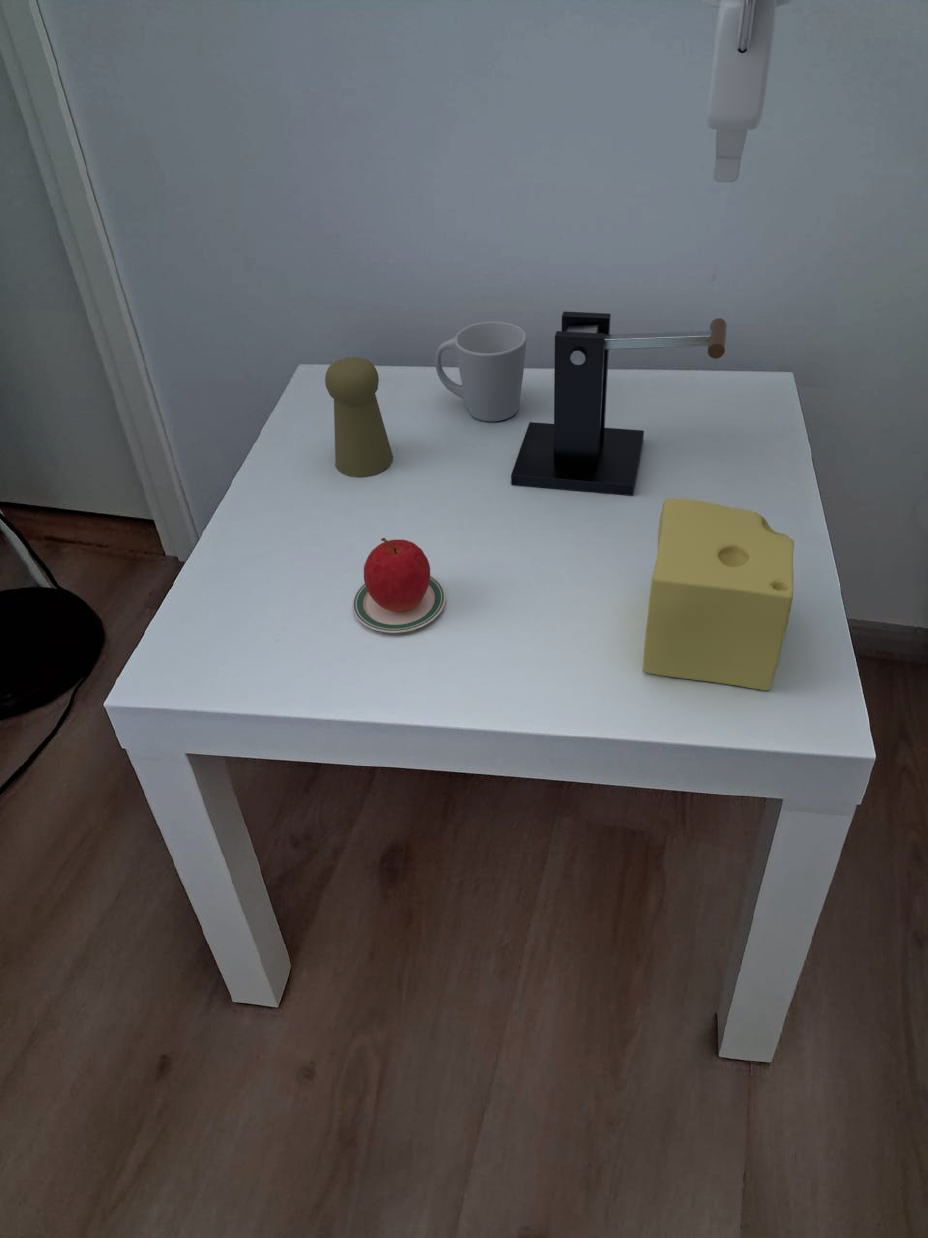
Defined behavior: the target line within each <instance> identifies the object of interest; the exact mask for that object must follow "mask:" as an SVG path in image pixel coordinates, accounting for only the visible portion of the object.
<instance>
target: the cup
mask: <svg viewBox="0 0 928 1238" xmlns="http://www.w3.org/2000/svg"><path fill="white" fill-rule="evenodd" d="M527 337H528V336H527V334H526V332H525V330H523V329H522V327H520V326H519V325H516V324H513V323H509V322H505V321H482V322H477V323H473V324H470V325H468V326H465V327H463V328H462V329H460V330H459V331H458V332H457V333H456V335H455V337H452V338H450V339H447V340H446V341H443V342H442V343H441V344H440V345H439V346H438V348H437V349H436V352H435V358H434V365H435V366H434V367H435V370H436V374H437V376H438V378H439V380H440V382H441V384H443V386H444V387H445V388H446V389H447V390H448V391H449V392H451V393H452V394H453V395H455V396H456V397H458V398H461V399H462V400H464V401H465V404H466V407H467V408H466V409H467V412H468V413H469V415H470V416H471V417H473V418H474V419H476V420H479V421H483V422H493V423H494V422H501V421H506V420H507V419H510V418H512V417H513V416H515V414H517V413H518V411H519V408H520V402H521V401H520V400H521V393H522V387H523V378H524V371H525V360H526V350H527ZM446 350H451V351H453V352H454V353H455V355H456V360H457V365H458V370H459V371H458V372H459V376H460V380H461V384H459V383H456V382H455V381H453V380H452V379H451V378H449V376H447V374H446V372H445V371H444V368H443V366H442V359H441V358H442V354H443V352H444V351H446Z"/></svg>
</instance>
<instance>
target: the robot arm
mask: <svg viewBox="0 0 928 1238" xmlns="http://www.w3.org/2000/svg"><path fill="white" fill-rule="evenodd" d="M701 1H702V2H703V4H704V5H706V6H708V7H712V8H716V10H715V11H716V16H715V17H716V21H715V22H716V23H715V34H714V42H713V51H712V59H711V69H710V70H711V71H710V77H709V78H710V79H709V87H708V95H707V105H706V125H707V127H708V128H709V129H711V130H716V132H715V133H716V134H715V159H714V166H713V167H714V168H713V179H714V181H716V182H717V183H735V182H736V181H737V180H738V178H739V175H740V168H741V163H742V162H741V161H742V157H743V151H744V148H745V143H746V140H747V135H748V130H756V129H757V128H758V127H759V126H760V124H761V121H762V118H763V113H764V106H765V101H766V100H765V99H766V94H767V85H768V79H769V72H770V65H771V57H772V50H773V42H774V36H775V29H776V20H777V7H782V6H784V5H785V6H786V5H788V4H790V3H791V2H793V1H794V0H701Z"/></svg>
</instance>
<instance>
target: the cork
mask: <svg viewBox="0 0 928 1238" xmlns="http://www.w3.org/2000/svg"><path fill="white" fill-rule="evenodd" d="M379 382H380V379H379V372H378V370H377V368H376V366H375V365H374V364H373V363H372V362H371V361H370V360H368V359H366V358H362V357H357V356H349V357H344V358H340V359H338V360H336V361H334V362H333V363H331V364H330V365H329V366H328V368H327V369H326V371H325V377H324V383H325V388H326V390H327V392H328V394H329V396H330V397H331V398H332V399H333V421H334V422H333V425H334V427H333V428H334V460H335V461H334V463H335V464H334V465H335V467H336V470H337V471H339V472H340V473H341V474H343V475H345V476H349V477H353V478H366V477H371V476H376V475H379V474H380V473H383V472H384V471H386V470H387V469H389V468H390V467H391V465H392V463H393V462H394V455H393V451H392V447H391V445H390V441H389V437H388V433H387V429H386V427H385V423H384V420H383V419H384V418H383V416H382V413H381V409H380V406H379V402H378V400H377V396H376V393H377V391H378V389H379Z"/></svg>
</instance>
